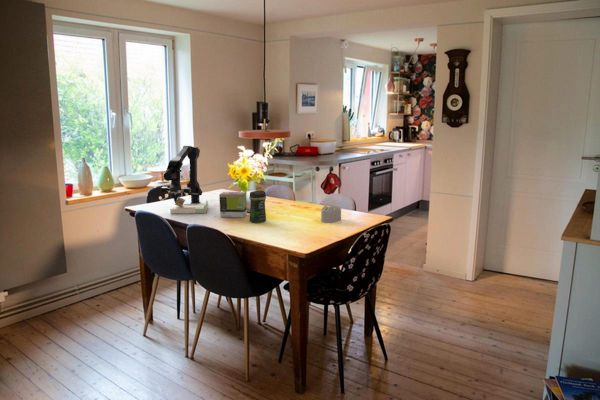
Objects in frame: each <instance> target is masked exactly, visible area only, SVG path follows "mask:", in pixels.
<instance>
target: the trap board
mask: <svg viewBox="0 0 600 400" xmlns="http://www.w3.org/2000/svg"><path fill="white" fill-rule="evenodd" d="M204 202H205V203H200V204H190V203H184V204H183V206H182V207H179V206H177V205H175V204H173V205H172V206H171V208H170V211H169V212H170V215H181V214H182V215H183V214H184V215H190V214H193V215H194V214H206V213H207V211H208V209H209V204H208V203H209V200H206V201H204Z"/></svg>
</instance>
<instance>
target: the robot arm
mask: <svg viewBox="0 0 600 400" xmlns="http://www.w3.org/2000/svg"><path fill="white" fill-rule="evenodd" d="M200 151H201V150H200V148H199V146H192V145H182V148H181V150H180V151H179V153H177V155H176V156H175V157H172V158H171V159H170V160H169V162H168V165H167V167H166V170H165V171H166V172H164V174H163V180H165V181H167V182H169V181H170V185H169V186H162V187H160V188H159V192H160V193H166V192H169V194H170V195H171V196H172V198H173V201H174V203H176V201H177V199H178V197H180V195H181V194H182V193H184V194H187V195H188V196H190V199H191V200H190V203H189V204H202V203H201V201H200V196H202V195H203V190H202V189H201V187H200V183H199V181H198V159H199V157H200ZM186 157H187V158H188V159H189V181H188V182H187V183H186V187H184V188H182V184H181V173H182V167H183V165H184V164H183V162H184V160H185V159H186Z"/></svg>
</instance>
